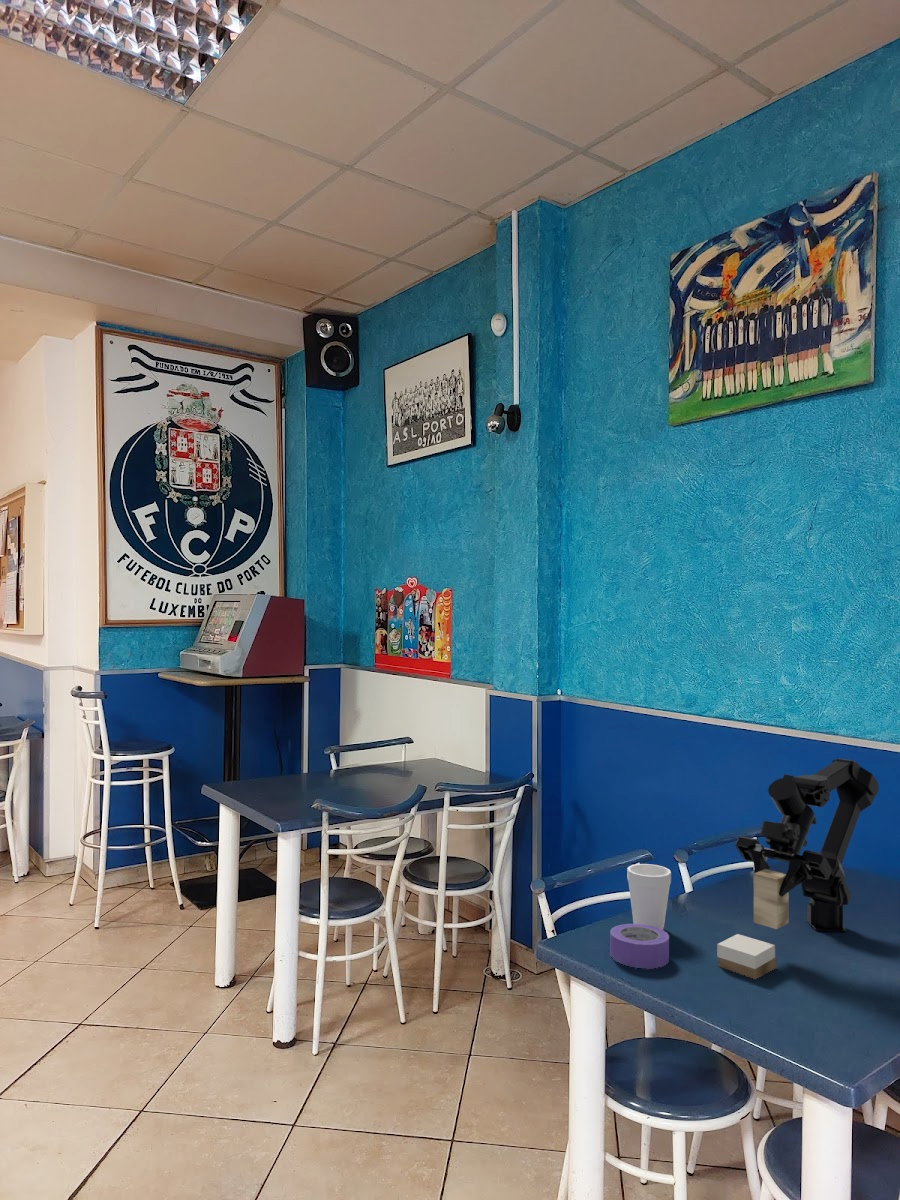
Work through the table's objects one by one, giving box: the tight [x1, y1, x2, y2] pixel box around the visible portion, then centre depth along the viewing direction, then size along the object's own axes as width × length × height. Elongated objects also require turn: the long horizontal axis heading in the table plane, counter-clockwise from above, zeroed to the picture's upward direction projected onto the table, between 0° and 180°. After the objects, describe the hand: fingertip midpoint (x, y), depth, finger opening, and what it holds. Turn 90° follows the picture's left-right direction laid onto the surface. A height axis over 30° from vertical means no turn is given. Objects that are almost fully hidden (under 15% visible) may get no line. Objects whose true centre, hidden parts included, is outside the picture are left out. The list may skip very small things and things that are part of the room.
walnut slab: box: [717, 957, 778, 980], centre depth 171 cm, size 8×8×2 cm
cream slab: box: [716, 933, 776, 969], centre depth 171 cm, size 8×8×2 cm
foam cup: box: [626, 863, 672, 931], centre depth 191 cm, size 10×9×13 cm
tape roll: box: [609, 923, 670, 970], centre depth 176 cm, size 12×12×5 cm
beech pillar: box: [753, 869, 790, 930], centre depth 177 cm, size 5×5×10 cm
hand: (767, 892), depth 176 cm, fingers closed on beech pillar, 5 cm apart
